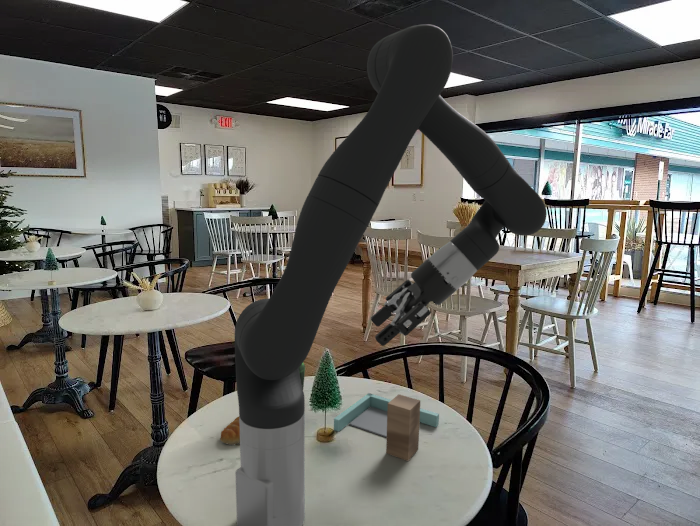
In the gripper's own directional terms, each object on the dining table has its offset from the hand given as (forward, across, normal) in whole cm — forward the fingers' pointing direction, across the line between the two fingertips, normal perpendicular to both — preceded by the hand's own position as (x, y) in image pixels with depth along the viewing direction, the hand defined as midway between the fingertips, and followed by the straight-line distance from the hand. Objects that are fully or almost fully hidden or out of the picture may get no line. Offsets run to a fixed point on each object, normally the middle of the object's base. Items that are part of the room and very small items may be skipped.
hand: (376, 332), depth 85 cm
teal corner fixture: (+14, -5, +20) cm, 24 cm away
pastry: (+34, -4, 0) cm, 35 cm away
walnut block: (+12, +3, +20) cm, 24 cm away
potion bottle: (+30, -14, +5) cm, 33 cm away
